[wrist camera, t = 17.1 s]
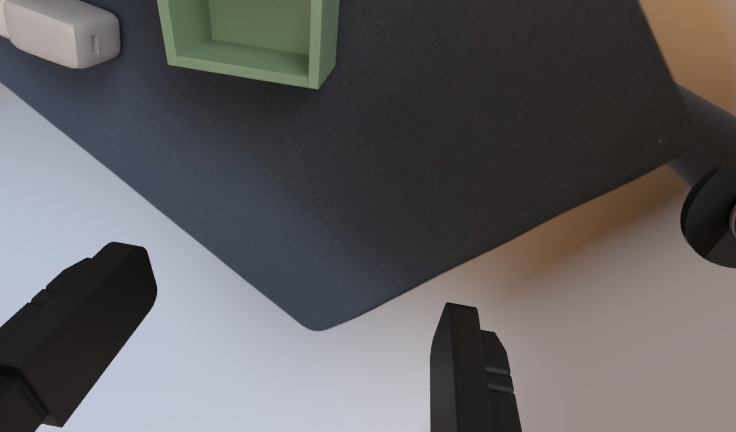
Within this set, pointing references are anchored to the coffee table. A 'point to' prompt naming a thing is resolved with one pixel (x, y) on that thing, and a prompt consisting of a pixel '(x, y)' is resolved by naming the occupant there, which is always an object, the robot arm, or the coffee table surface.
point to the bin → (253, 38)
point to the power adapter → (61, 30)
